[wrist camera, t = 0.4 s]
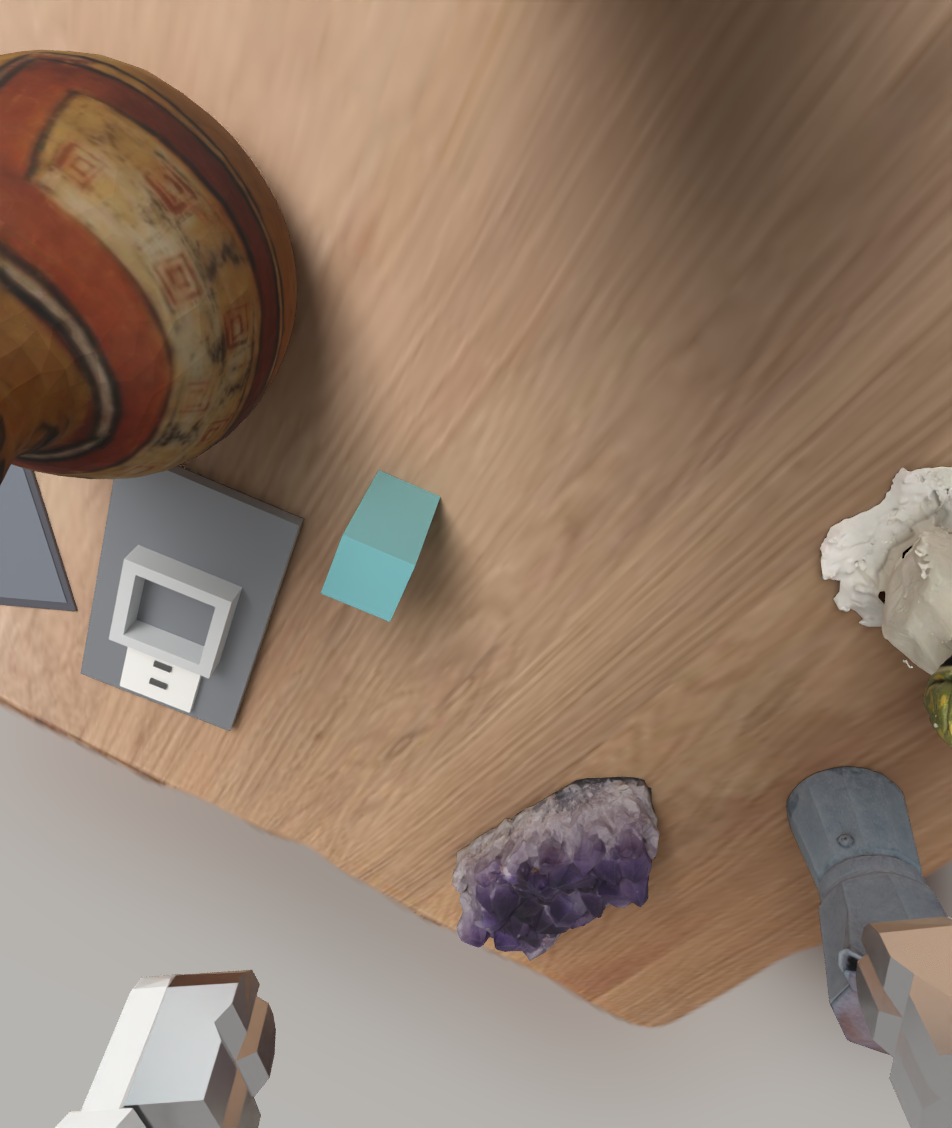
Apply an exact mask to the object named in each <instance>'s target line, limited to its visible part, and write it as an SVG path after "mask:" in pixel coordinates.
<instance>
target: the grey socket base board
mask: <svg viewBox="0 0 952 1128" xmlns="http://www.w3.org/2000/svg"><path fill="white" fill-rule="evenodd" d="M303 520H304V519H302V518H300V517H297V516H295V515H293V514H290V513H288V512H286V511H283V510H281V509H278V508H276V507H274V506H271V505H269V504H267V503H264V502H262V501H259V500H257V499H255V498H252V497H250V496H248V495H245V494H243V493H240V492H238V491H236V490H233V489H231V488H229V487H226V486H224V485H222V484H219V483H217V482H214V481H212V480H210V479H207V478H205V477H203V476H200V475H198V474H195V473H193V472H191V471H188V470H186V469H184V468H181V467H179V466H175V467H173V468H170V469H168V470H166V471H163V472H159V473H155V474H151V475H147V476H143V477H136V478H128V479H114V481H113V487H112V492H111V498H110V504H109V510H108V516H107V522H106V528H105V533H104V539H103V545H102V551H101V557H100V563H99V569H98V575H97V580H96V586H95V592H94V598H93V604H92V610H91V616H90V622H89V627H88V633H87V639H86V645H85V651H84V657H83V663H82V668H81V674H83V675H86V676H88V677H91V678H93V679H96V680H99V681H101V682H104V683H106V684H109V685H112V686H114V687H117V688H119V689H122V690H125V691H127V692H130V693H132V694H135V695H138V696H140V697H143V698H145V699H148V700H150V701H153V702H156V703H158V704H161V705H163V706H166V707H169V708H171V709H174V710H176V711H179V712H182V713H184V714H187V715H189V716H192V717H194V718H197V719H200V720H202V721H205V722H207V723H210V724H213V725H215V726H218V727H220V728H223V729H226V730H228V731H230V730H231V729H232V727H233V725H234V723H235V720H236V717H237V714H238V711H239V709H240V706H241V703H242V700H243V697H244V694H245V691H246V688H247V685H248V682H249V679H250V676H251V673H252V670H253V667H254V664H255V661H256V658H257V655H258V652H259V650H260V647H261V644H262V641H263V638H264V635H265V632H266V629H267V626H268V623H269V620H270V617H271V614H272V611H273V608H274V605H275V602H276V599H277V596H278V593H279V591H280V588H281V585H282V582H283V579H284V576H285V573H286V570H287V567H288V564H289V561H290V558H291V555H292V552H293V549H294V546H295V543H296V540H297V537H298V534H299V532H300V529H301V526H302V523H303Z"/></svg>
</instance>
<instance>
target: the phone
mask: <svg viewBox="0 0 952 1128" xmlns="http://www.w3.org/2000/svg"><path fill="white" fill-rule="evenodd" d="M0 605H11V606H22V607H34V608H45V609H57V610H68V611H76V610H77V607H76V604H75V600H74V597H73V594H72V591H71V588H70V585H69V581H68V578H67V575H66V572H65V569H64V566H63V562H62V559H61V556H60V553H59V550H58V547H57V543H56V540H55V537H54V534H53V531H52V527H51V524H50V521H49V518H48V515H47V512H46V508H45V505H44V502H43V499H42V496H41V493H40V489H39V486H38V483H37V480H36V477H35V474H34V471H32V470H28V469H25V468H22V467H18V466H15V465H12V464H11V465H10V467H9V469H8V471H7V473H6V475H5V477H4V479H3V481H2V483H1V485H0Z"/></svg>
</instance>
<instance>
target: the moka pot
mask: <svg viewBox="0 0 952 1128" xmlns="http://www.w3.org/2000/svg"><path fill="white" fill-rule="evenodd" d="M786 807H787V816H788V820H789V825H790V828H791V830H792V832H793V835H794V837H795V839H796V841H797V844H798V846H799V848H800V850H801V853H802V855H803V857H804V859H805V861H806V864H807V866H808V868H809V870H810V873H811V875H812V877H813V880H814V882H815V884H816V886H817V888H818V890H819V896H820V900H821V905H820V906H819V917H820V926H821V934H822V941H823V949H824V956H825V964H826V974H827V985H828V993H829V1002H830V1005H831V1007H832V1009H833V1011H834V1013H835V1015H836V1018H837V1020H838V1022H839V1024H840V1026H841V1028H842V1030H843V1032H844V1035H845V1037H846V1038H847V1040H849V1041H850V1042H853V1043H856V1044H859V1045H862V1046H865V1047H868V1048H871V1049H873V1050H876V1051H879V1052H882V1053H885V1054H889V1053H888V1052H886V1051H885V1050H884V1049H883V1048H882V1047H881V1046H880V1045H878V1044H877V1043H876V1042H875V1041H874V1040H873V1038H872V1036H871V1034H870V1031H869V1029H868V1026H867V1024H866V1021H865V1019H864V1016H863V1013H862V1009H861V1006H860V1003H859V1000H858V993H857V986H856V979H855V977H856V968H857V961H859V960H860V959H861V958H862V957H863V956H865V955H866V954H867V952H866V950H865V948H864V946H863V943H862V941H861V938H862V933H863V928H864V927H865V926H866V925H867V924H868V923H877V922H888V921H899V920H909V919H920V918H931V917H941V916H946V917H947V915H946V913H945V911H944V909H943V908H942V906H941V904H940V902H939V901H938V899H937V897H936V896H935V894H934V892H933V890H932V889H931V888H930V887H928V886H927V884H926V882H925V879H924V878H923V876H922V873H921V865H920V861H919V858H918V854H917V849H916V846H915V842H914V838H913V833H912V829H911V824H910V820H909V816H908V812H907V807H906V803H905V799H904V796H903V792H902V791H901V790H900V789H899V787H897V786H896V785H895V784H894V783H893V782H892V781H890V780H889V779H888V778H886V777H885V776H884V775H883V774H880V773H877V772H874V771H871V770H869V769H864V768H857V767H838V768H832V769H828V770H824V771H821V772H818V773H816V774H814V775H812V776H810V777H808V778H806V779H805V780H803V781H802V782H801V783H800V784H799V785H798V786H797V787H795V789H794V790H793V791H792V793H791V795H790V796H789V798H788V801H787V805H786ZM889 1055H890V1054H889Z"/></svg>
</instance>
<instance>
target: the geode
mask: <svg viewBox="0 0 952 1128" xmlns="http://www.w3.org/2000/svg"><path fill="white" fill-rule="evenodd" d="M657 821H658V819H657V818H656V816H655V813H654V809H653V805H652V801H651V788H648V787H647V785H646V783H645V781H644V780H642V779H638V778H631V777H610V778H587V779H581V780H576V781H574V782H573V783H571V784H569V785H568V786H566V787H565V788H563V789H562V790H560V791H558V792H556V793H554V794H552V795H550V796H549V797H547V798H545V799H544V800H542V801H541V802H539V803H537V804H535V805H534V806H532V807H528V808H526V809H525V810H523V811H522V812H520V813H518V814H517V815H516V816H515V817H514V819H513V820H510V819H505V820H504V821H503V822H502V823H501V824H500V825H499V826H498V827H497V828H495V829H491V830H490V831H488V832H487V833H485V834H483V835H481V836H480V837H478V838H477V839H475V840H474V841H472V843H471V844H470V845H469V846H467V847H465V848H463V849H461V850H460V851H458V852H457V864H456V868H455V869H454V871H453V881H452V882H453V883H452V885H453V886H454V887H456V892H460V899H459V900H460V904H461V906H462V910H463V914H462V915H461V918H460V920H459V922H458V924H457V932H458V935H459V937H460V939H461V941H463V942H465V943H467V944H470V945H473V946H476V947H481V946H482V945H484V943H485V942H486V941H487V939H488V938H489V937H491V938H494V943H495V947H496V949H497V950H501V951H505V952H506V951H523V952H524V953H525V955H526V956H527V957H528V959H529V960H530V961H531V960H532V959H534V958H535V957H537V956H539V955H541V954H543V953H544V952H546V951H547V950H548V949H549V948H550V947H551V946H552V945H553V944H554V942H555V941H556V940H557V938H558V937H559V936H560V934H561V933H564V932H566V931H567V930H568V929H569V928H571V929H574V928H576V927H579V926H584V925H585V924H587V923H589V922H590V921H592V920H593V919H595V918H596V917H598V918H600V917H601V916H602V913H603V910H604V909H605V908H606V907H608V906H609V905H610V904H612V905H613V906H615V907H623V908H625V907H626V906H627V905H629V904H630V903H634V904H636V905H637V906H639V907H641V906H642V905H643V904H644V903H645V902H646V900H647V899H648V880H649V873H650V870H651V867H652V859H653V858H655V857H656V854H657V849H658V839H659V834H660V832H659V831H658V829H657V828H656V827H657Z"/></svg>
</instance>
